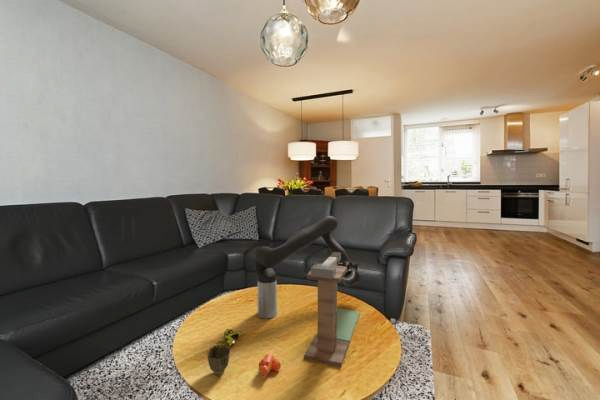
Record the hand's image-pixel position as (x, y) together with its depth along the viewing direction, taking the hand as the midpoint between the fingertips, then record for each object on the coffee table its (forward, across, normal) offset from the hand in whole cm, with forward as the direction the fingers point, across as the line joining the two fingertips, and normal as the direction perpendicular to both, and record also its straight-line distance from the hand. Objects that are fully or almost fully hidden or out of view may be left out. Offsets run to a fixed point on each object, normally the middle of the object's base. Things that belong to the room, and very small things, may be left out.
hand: (340, 262), depth 128 cm
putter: (+17, 0, +6) cm, 18 cm away
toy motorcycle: (+11, -39, +40) cm, 57 cm away
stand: (+4, 0, +36) cm, 36 cm away
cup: (+25, -32, +48) cm, 63 cm away
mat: (-15, 0, +24) cm, 29 cm away
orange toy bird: (+18, -16, +44) cm, 51 cm away
